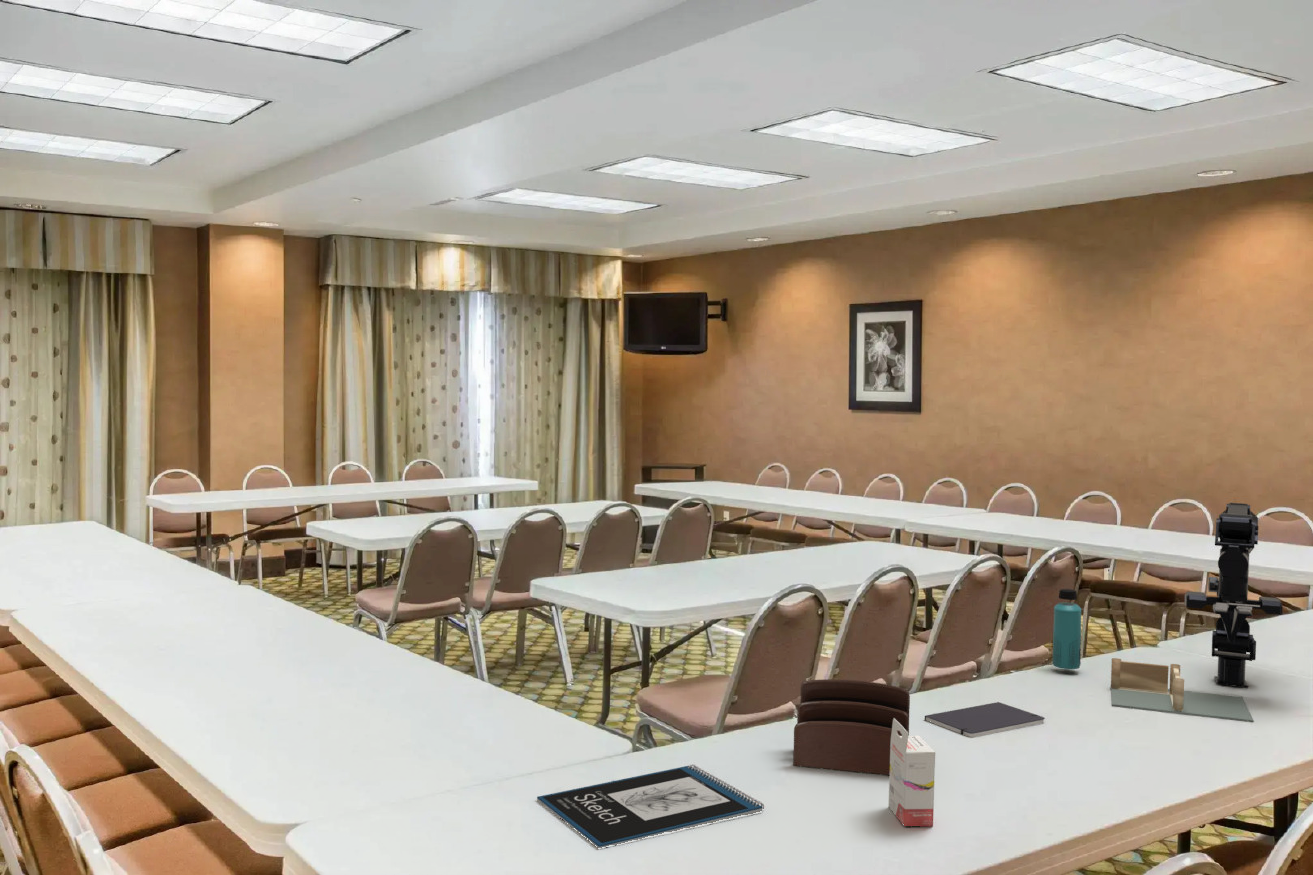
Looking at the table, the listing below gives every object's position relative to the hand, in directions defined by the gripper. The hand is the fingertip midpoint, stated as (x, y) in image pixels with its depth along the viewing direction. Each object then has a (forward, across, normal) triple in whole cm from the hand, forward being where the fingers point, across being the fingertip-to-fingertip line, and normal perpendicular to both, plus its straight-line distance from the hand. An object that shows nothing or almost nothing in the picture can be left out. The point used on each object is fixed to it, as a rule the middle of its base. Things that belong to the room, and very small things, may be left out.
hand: (1230, 641), depth 243 cm
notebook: (+14, +48, +40) cm, 64 cm away
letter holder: (+13, +68, +76) cm, 103 cm away
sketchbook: (+14, +93, +110) cm, 144 cm away
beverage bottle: (+13, +34, -10) cm, 38 cm away
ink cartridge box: (+13, +54, +97) cm, 112 cm away
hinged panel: (+12, +11, +10) cm, 19 cm away
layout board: (+13, +10, +7) cm, 18 cm away
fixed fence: (+13, +17, +2) cm, 22 cm away
